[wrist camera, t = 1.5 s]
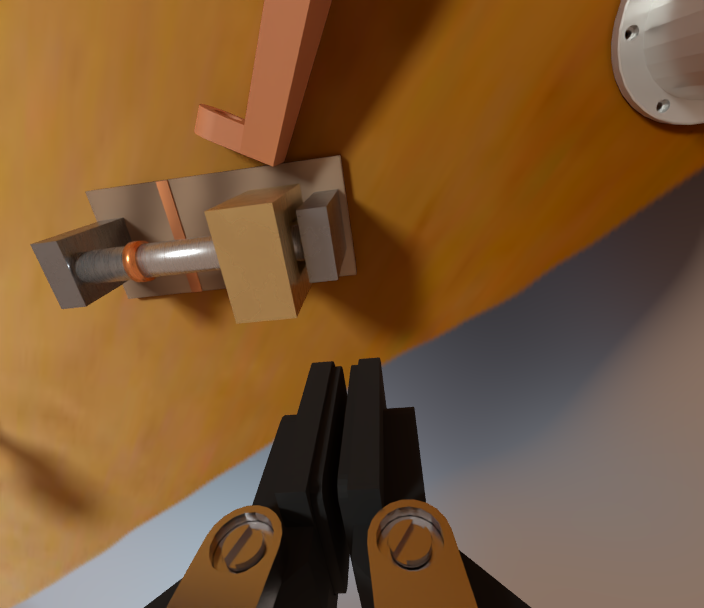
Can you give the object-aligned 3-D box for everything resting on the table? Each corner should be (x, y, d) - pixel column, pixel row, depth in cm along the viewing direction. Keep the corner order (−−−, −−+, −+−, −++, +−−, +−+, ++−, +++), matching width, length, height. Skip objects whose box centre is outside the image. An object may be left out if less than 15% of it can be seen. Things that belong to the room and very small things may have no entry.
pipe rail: (339, 187, 32) (326, 206, 25) (347, 245, 34) (337, 279, 27) (108, 218, 35) (30, 244, 27) (128, 270, 37) (61, 308, 29)
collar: (299, 183, 29) (271, 202, 22) (316, 273, 32) (296, 317, 24) (248, 190, 30) (204, 211, 22) (269, 278, 32) (236, 323, 25)
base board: (340, 154, 31) (339, 155, 30) (356, 271, 35) (356, 275, 34) (91, 190, 34) (84, 192, 33) (133, 295, 38) (127, 299, 37)
